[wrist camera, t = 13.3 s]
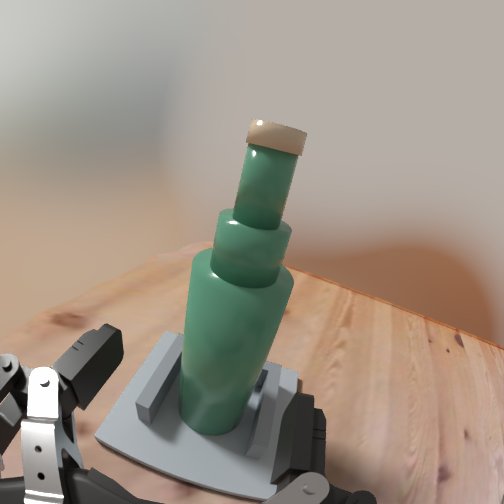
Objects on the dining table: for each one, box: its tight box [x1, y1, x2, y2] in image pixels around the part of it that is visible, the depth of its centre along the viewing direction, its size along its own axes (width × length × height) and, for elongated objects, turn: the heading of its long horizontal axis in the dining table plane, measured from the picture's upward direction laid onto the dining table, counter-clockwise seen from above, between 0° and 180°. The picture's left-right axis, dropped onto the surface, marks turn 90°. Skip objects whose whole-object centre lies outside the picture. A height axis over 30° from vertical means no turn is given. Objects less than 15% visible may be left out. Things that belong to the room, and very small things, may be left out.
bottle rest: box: [94, 331, 298, 501], centre depth 21 cm, size 16×16×4 cm
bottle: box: [178, 120, 307, 436], centre depth 17 cm, size 6×6×23 cm
